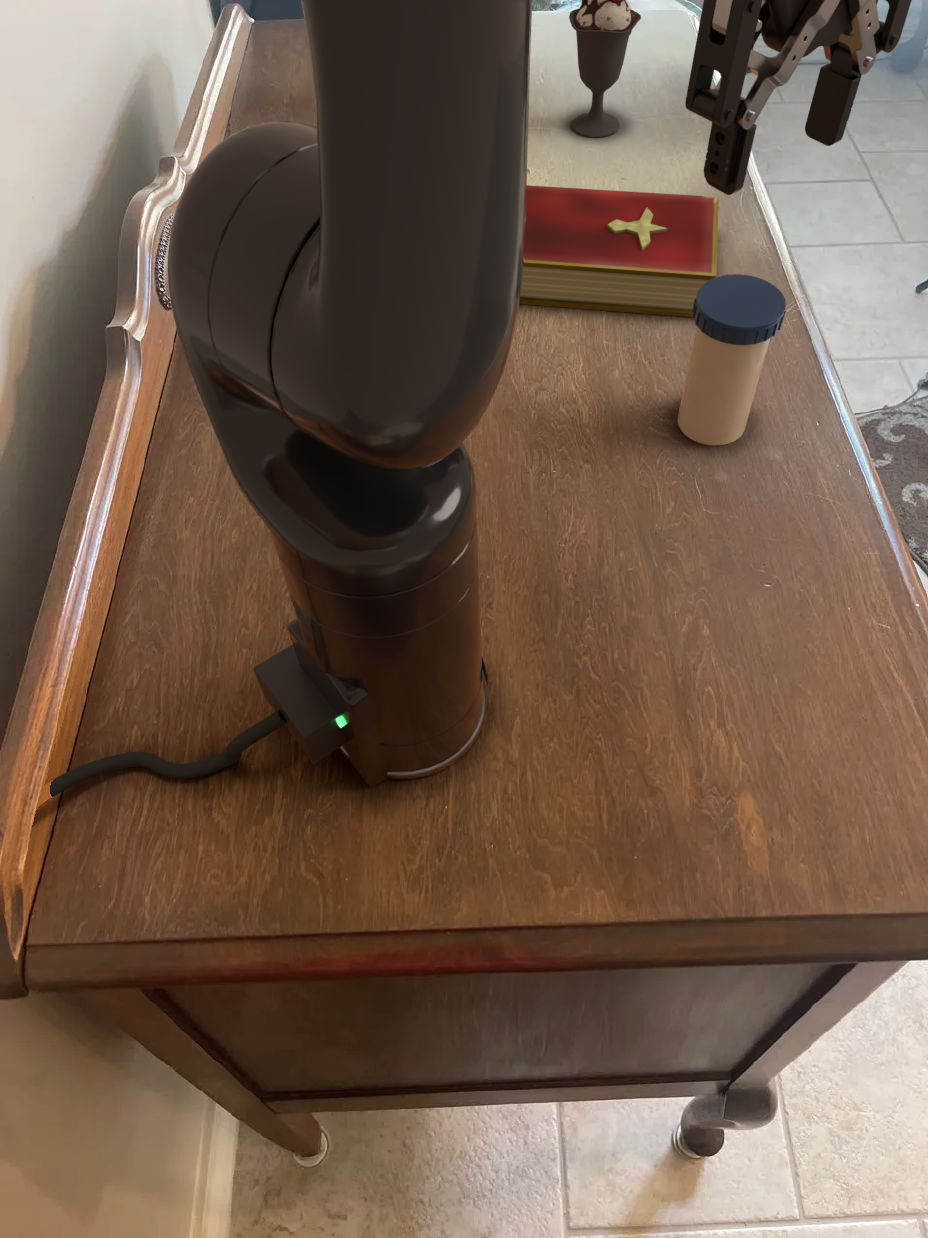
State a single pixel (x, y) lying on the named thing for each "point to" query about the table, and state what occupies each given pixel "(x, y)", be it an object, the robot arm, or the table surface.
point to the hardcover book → (618, 249)
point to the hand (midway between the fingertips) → (773, 162)
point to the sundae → (601, 57)
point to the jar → (719, 389)
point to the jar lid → (739, 309)
